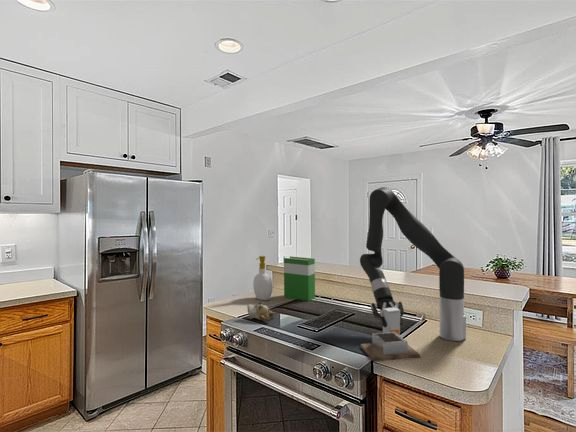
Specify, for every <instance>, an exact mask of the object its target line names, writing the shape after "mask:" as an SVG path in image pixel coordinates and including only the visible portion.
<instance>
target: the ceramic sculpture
mask: <svg viewBox="0 0 576 432" xmlns="http://www.w3.org/2000/svg"><path fill="white" fill-rule="evenodd" d="M246 308H247V313H248V318H249V319H250V320H253V319H257V320H259V321H263V322H269V321H272V320H273V319H272V317H275V316H278V315H279V313H278V312H274V311H272V310H270V308H269V306H268V305H266V304H262V302H258V303H256V304H255V305H254V304H250V303H247V307H246Z"/></svg>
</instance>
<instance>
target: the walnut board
mask: <svg viewBox="0 0 576 432" xmlns="http://www.w3.org/2000/svg"><path fill="white" fill-rule="evenodd" d="M360 348H361V349H362V350H363V351H364V352H365V353H366V355H367V356H368V357H369V358H370V359H371V360H372V362H383V361H396V359H398V360H408V359H410V360H411V359H420V358H421V353H419V352H418V351H416V350H415V349H414V348H413V347H412V346H411V345H409V343H407V354H399V355H387V356H383V355H382V354H381V353H380V352H379V351H378V350H377V349H376V348H375V347H374V346H373V345H372V342H370V343H369V342H368V343H361V344H360Z"/></svg>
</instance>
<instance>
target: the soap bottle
mask: <svg viewBox="0 0 576 432" xmlns="http://www.w3.org/2000/svg"><path fill="white" fill-rule="evenodd" d="M255 260H259V265H258V266H259V268H258V273H257V274H256V275H255V276H254V278H253V291H254V295H255V298H257V299H258V300H261V301H268V300H270V298H271V297H272V293H273V280H272V277H270V275H269V274H268V273H267V268H266V255H259V257H257V258H255Z"/></svg>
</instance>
